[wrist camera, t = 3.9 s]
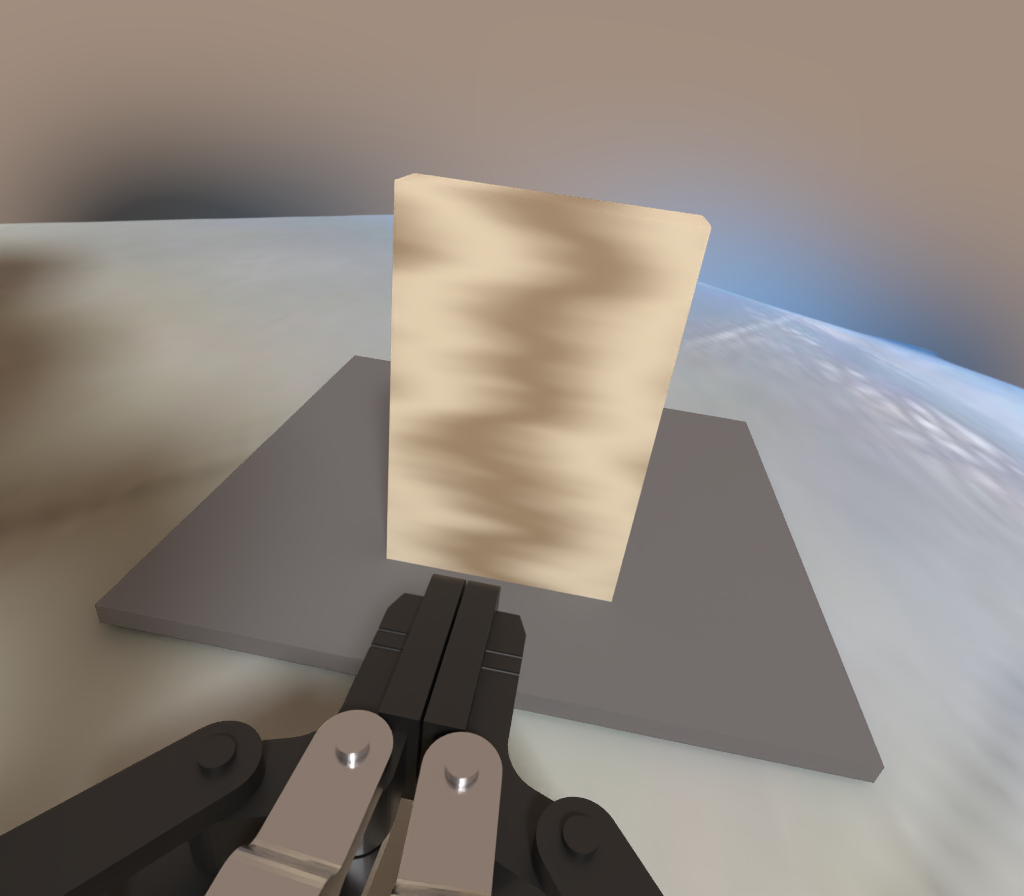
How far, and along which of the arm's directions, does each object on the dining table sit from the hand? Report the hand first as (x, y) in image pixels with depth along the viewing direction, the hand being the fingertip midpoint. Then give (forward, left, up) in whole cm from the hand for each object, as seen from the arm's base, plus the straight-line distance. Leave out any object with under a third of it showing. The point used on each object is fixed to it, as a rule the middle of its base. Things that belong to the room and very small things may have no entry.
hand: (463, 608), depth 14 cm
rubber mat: (0, +16, -8) cm, 17 cm away
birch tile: (0, +10, -7) cm, 12 cm away
